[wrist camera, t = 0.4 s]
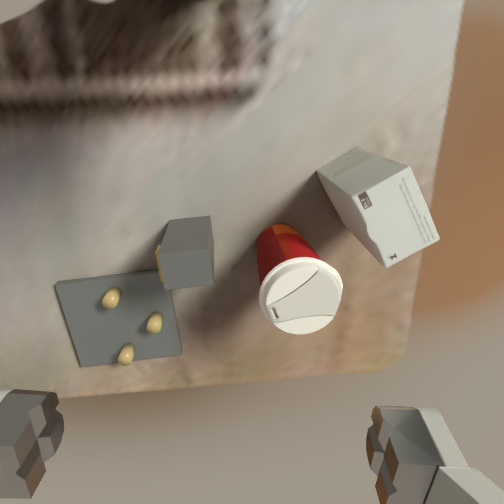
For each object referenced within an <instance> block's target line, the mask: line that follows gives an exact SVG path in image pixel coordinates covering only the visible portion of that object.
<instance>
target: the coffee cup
mask: <svg viewBox="0 0 504 504" xmlns="http://www.w3.org/2000/svg"><path fill="white" fill-rule="evenodd" d="M257 259H258V272H259V278H260V285H261V287H260V292H259V303H260V307H261V310H262V312H263V314H264V316H265V317H266V318H267V319H268V321H270V322H271V323H272V324H273V325H275V326H276V327H277V328H279V329H281V330H283V331H285V332H288V333H292V334H307V333H311V332H315V331H317V330H319V329H321V328H323V327H324V326H326V325H327V324H328V323H329V322H330V321H331V320H332V319H333V318H334V316H335V314H336V311H337V309H338V306H339V303H340V300H341V295H342V288H343V284H342V280H341V277H340V275H339V274H338V272H337V271H336V269H334V268H333V267H331V266H330V265H328V264H327V263H325V262H323V261H322V260H321V259H320V258H319V256H318V255H317V254H316V253H315V252H314V250H313V249H312V248H311V247H310V246H309V244H308V243H307V242H306V241H305V240H304V238H303V237H302V236H301V235H300V234H299V233H298V232H297V231H296V230H295V229H294V228H292V227H291V226H289V225H285V224H275V225H272V226H270V227H268V228H266V229H265V230H264V231H263V232H262V233H261V234H260V236H259V238H258V241H257Z"/></svg>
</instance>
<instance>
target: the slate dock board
mask: <svg viewBox="0 0 504 504" xmlns="http://www.w3.org/2000/svg"><path fill="white" fill-rule="evenodd" d="M55 287H56V290H57V293H58V296H59V299H60V302H61V306H62V309H63V312H64V315H65V318H66V321H67V324H68V327H69V330H70V333H71V336H72V339H73V342H74V345H75V348H76V352H77V355H78V358H79V361H80V364H81V367H86V366H94V365H102V364H110V363H118V362H119V363H120V364H121V365H124V366H126V365H129V364H131V362H132V361H133V360H141V359H149V358H157V357H165V356H173V355H180V354H182V345H181V340H180V335H179V329H178V324H177V319H176V314H175V309H174V304H173V298H172V293H171V290H165V289H164V284H163V281H162V282H161V280H160V275H159V270H151V271H142V272H134V273H125V274H117V275H108V276H99V277H91V278H82V279H74V280H65V281H58V282H57V283H56V284H55Z"/></svg>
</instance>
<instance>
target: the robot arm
mask: <svg viewBox="0 0 504 504" xmlns="http://www.w3.org/2000/svg"><path fill="white" fill-rule="evenodd" d="M58 404H59V400H58V397H57V393H54V392H47V391H33V390H19V389H0V498H32V496H33V494H34V492H35V490H36V488H37V487H38V485H39V483H40V481H41V479H42V477H43V476H44V474H45V472H46V470H45V465H44V462H45V461H47V460H48V459H49V458H51V457H52V456H53V455H55V453H56V451H57V449H58V447H59V445H60V443H61V440H62V436H63V432H64V420H63V416H62V414H61V413H59V412H58V411H57V410H56V407H57V405H58ZM371 418H372V421H373V425H372V426H371V427H370V428H368V432H367V437H366V451H367V457H368V462H369V465H370V469H371V470H372V471H373V472H374V473H375V474H376V475H377V476H378V478H377V482H376V485H375V487H376V491H377V495H378V498H379V502H380V504H504V491H503V490H501V489H500V488H499V487H498V486H496V485H495V484H494V483H493V482H492V481H490V480H489V479H488V478H487V477H486V476H484V475H483V474H482V473H481V472H479V471H478V470H477V469H476V468H469V466H468V465H467V463H466V461H465V459H464V457H463V455H462V453H461V451H460V450H459V448H458V446H457V444H456V442H455V440H454V439H453V436H452V435H451V433H450V431H449V429H448V427H447V425H446V423H445V422H444V420H443V418H442V416H441V414H440V412H439V411H438V410H437V409H436V408H423V407H415V408H414V407H398V406H375V407H374V408H373V411H372V415H371Z"/></svg>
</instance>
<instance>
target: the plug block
mask: <svg viewBox="0 0 504 504" xmlns="http://www.w3.org/2000/svg"><path fill="white" fill-rule="evenodd" d="M155 255H156V260H157V265H158V270H159V275H160V280H161V282H162V281H163V284H164V289H165V290H172V289H180V288H189V287H197V286H205V285H214V242H213V234H212V227H211V220H210V216H203V217H193V218H184V219H175V220H170V221H169V224H168V227H167V229H166V232H165V235H164V238H163V241H162V243H161V245H158V247H157V250H156V253H155Z"/></svg>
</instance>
